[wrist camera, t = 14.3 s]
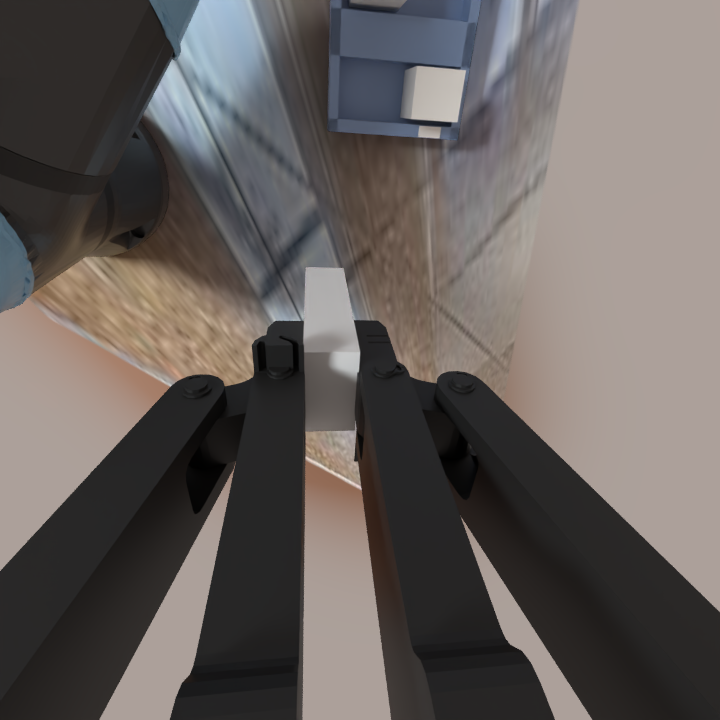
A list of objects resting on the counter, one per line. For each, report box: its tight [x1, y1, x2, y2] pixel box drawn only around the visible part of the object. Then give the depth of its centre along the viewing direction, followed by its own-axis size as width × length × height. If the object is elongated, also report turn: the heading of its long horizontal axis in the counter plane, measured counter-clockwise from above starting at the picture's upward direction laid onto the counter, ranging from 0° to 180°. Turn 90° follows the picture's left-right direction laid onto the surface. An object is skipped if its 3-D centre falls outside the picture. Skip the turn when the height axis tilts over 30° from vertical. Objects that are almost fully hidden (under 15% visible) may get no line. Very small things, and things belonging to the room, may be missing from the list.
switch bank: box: [327, 0, 481, 140], centre depth 35 cm, size 12×14×3 cm
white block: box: [400, 66, 466, 122], centre depth 35 cm, size 4×4×5 cm
